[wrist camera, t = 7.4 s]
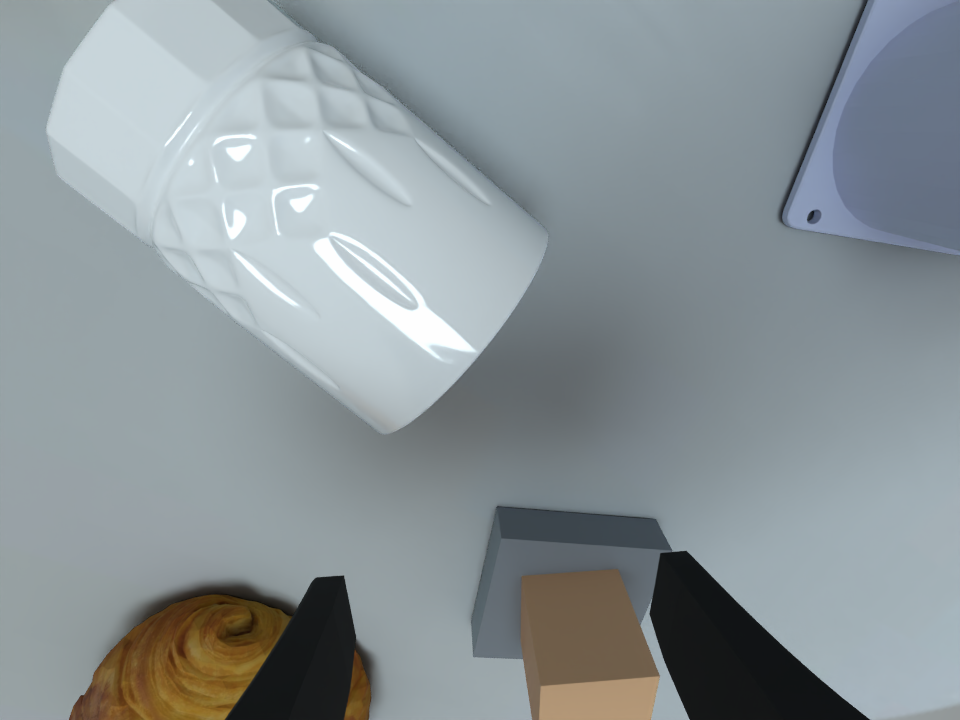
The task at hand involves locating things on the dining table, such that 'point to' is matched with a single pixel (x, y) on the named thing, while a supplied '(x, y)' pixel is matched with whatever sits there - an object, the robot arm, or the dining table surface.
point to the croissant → (194, 664)
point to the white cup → (294, 197)
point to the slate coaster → (557, 565)
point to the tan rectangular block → (584, 649)
